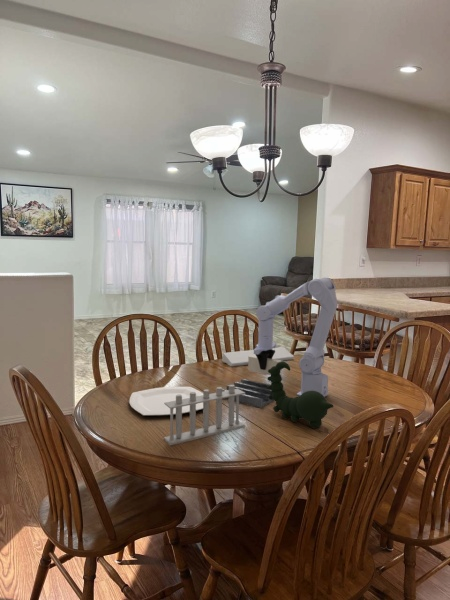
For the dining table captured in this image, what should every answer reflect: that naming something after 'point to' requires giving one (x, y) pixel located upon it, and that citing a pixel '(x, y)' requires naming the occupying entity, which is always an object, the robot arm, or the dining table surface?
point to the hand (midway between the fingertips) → (264, 368)
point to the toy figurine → (297, 400)
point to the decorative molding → (242, 356)
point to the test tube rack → (204, 415)
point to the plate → (161, 400)
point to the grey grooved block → (252, 393)
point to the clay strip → (255, 367)
